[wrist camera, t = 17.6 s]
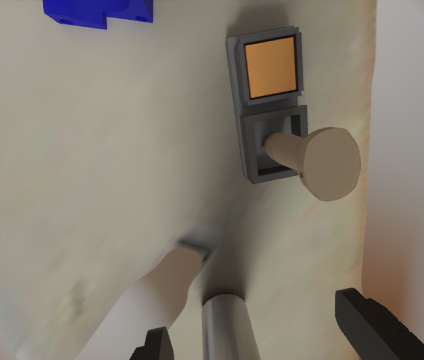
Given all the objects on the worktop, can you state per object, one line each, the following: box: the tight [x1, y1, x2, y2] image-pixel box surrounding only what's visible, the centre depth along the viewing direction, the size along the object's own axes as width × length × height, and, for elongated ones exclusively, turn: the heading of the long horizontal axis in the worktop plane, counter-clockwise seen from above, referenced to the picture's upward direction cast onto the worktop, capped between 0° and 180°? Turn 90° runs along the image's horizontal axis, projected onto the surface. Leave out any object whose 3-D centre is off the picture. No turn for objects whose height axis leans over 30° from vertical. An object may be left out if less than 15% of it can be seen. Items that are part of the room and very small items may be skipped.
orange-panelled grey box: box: [225, 26, 308, 184], centre depth 30 cm, size 20×9×5 cm, turn 10°
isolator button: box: [244, 37, 296, 99], centre depth 27 cm, size 6×6×2 cm
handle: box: [262, 127, 361, 201], centre depth 24 cm, size 5×6×15 cm
